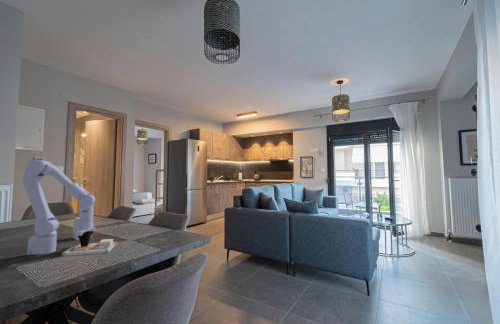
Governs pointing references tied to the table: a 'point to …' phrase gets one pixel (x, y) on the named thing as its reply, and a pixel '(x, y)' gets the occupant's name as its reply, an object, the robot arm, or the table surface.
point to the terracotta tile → (82, 248)
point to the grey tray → (70, 253)
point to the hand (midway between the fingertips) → (84, 247)
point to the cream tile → (105, 242)
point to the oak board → (96, 245)
